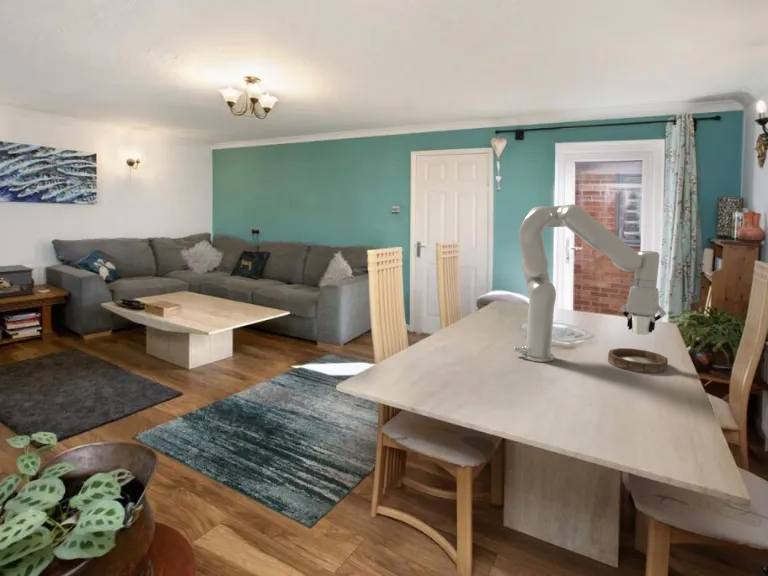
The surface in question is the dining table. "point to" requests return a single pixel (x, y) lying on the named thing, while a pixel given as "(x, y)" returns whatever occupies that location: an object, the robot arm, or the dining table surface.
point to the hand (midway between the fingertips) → (640, 329)
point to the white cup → (640, 324)
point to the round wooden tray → (637, 360)
